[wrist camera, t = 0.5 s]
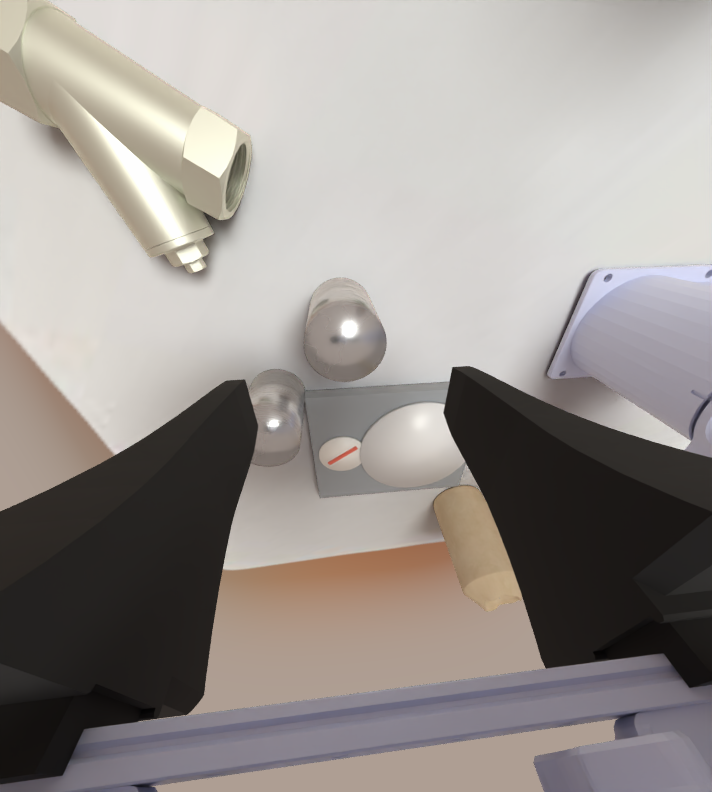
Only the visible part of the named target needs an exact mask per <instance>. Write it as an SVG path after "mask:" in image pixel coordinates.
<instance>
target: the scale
mask: <svg viewBox="0 0 712 792" xmlns="http://www.w3.org/2000/svg"><path fill="white" fill-rule="evenodd" d="M448 387H449V382H440V383H424V384H408V385H392V386H376V387H360V388H344V389H328V390H312V391H305V404H306V411H307V417H308V424H309V431H310V437H311V444H312V450H313V457H314V463H315V470H316V477H317V483H318V490H319V496H320V498H326V497H338V496H350V495H361V494H373V493H384V492H396V491H408V490H419V489H431V488H442V487H454V486H459V483H460V480H461V477H462V474H463V470H464V467H465V464H466V462H465V460H464V458H463V457H462V455H461V453H460V451H459V449H458V447H457V445H456V443H455V442H454V440H453V438H452V436H451V433H450V431H449V428H448V425H447V422H446V419H445V417H444V414H443V411H444V407H445V402H446V397H447V392H448Z"/></svg>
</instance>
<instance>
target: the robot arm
mask: <svg viewBox="0 0 712 792" xmlns="http://www.w3.org/2000/svg"><path fill="white" fill-rule="evenodd" d="M606 275H607V277H606V279H604V278H605V276H606ZM547 375H548V376H549V377H550V378H551V379H565V378H581V377H594V378H595V379H597V380H598V381H600V382H602V383H603V384H605V385H606V386H608V387H609V388H611V389H612V390H614V391H615V392H617V393H618V394H620V395H621V396H623V397H625V398H626V399H628V400H629V401H631V402H632V403H634V404H635V405H637V406H638V407H640V408H641V409H643V410H644V411H646V412H648V413H649V414H651V415H652V416H654V417H655V418H657V419H658V420H660V421H661V422H663V423H664V424H666V425H667V426H669V427H671V428H672V429H674V430H675V431H677V432H678V433H680V434H681V435H683V436H684V437H686V438H687V439H689V440H690V441H691V443H690V444H689V446H688V447H687V448H686V449H685V450H680V449H676V448H673V447H669V446H666V445H662V444H659V443H655V442H652V441H649V440H645V439H642V438H639V437H636V436H633V435H629V434H626V433H623V432H620V431H617V430H614V429H611V428H608V427H605V426H602V425H600V424H597V423H594V422H592V421H589V420H586V419H584V418H581V417H578V416H576V415H573V414H571V413H568V412H566V411H564V410H561V409H559V408H557V407H554V406H552V405H550V404H548V403H545V402H543V401H541V400H539V399H537V398H535V397H533V396H530V395H528V394H526V393H524V392H522V391H520V390H518V389H516V388H514V387H512V386H510V385H508V384H506V383H504V382H502V381H500V380H498V379H496V378H495V377H493V376H491V375H489V374H486V373H484V372H482V371H480V370H478V369H476V368H473V367H470V366H465V367H453V368H452V373H451V378H450V382H449V387H448V392H447V397H446V402H445V407H444V411H443V414H444V417H445V419H446V422H447V425H448V428H449V431H450V433H451V436H452V438H453V440H454V442H455V443H456V445H457V447H458V449H459V451H460V453H461V455H462V457H463V458H464V460H465V462H466V464H467V466H468V468H469V469H470V471H471V473H472V475H473V477H474V478H475V480H476V482H477V484H478V486H479V488H480V490H481V492H482V494H483V496H484V498H485V500H486V502H487V504H488V507H489V509H490V512H491V514H492V516H493V519H494V521H495V524H496V526H497V529H498V531H499V534H500V536H501V539H502V542H503V544H504V547H505V549H506V552H507V555H508V557H509V560H510V563H511V566H512V568H513V571H514V574H515V577H516V580H517V583H518V586H519V588H520V591H521V594H522V597H523V600H524V603H525V606H526V610H527V613H528V616H529V619H530V622H531V626H532V629H533V632H534V635H535V638H536V642H537V645H538V649H539V652H540V655H541V659H542V661H543V663H544V665H545V668H546V669H540V670H532V671H524V672H517V673H509V674H502V675H495V676H487V677H479V678H471V679H463V680H456V681H449V682H440V683H433V684H426V685H418V686H411V687H403V688H395V689H387V690H379V691H372V692H364V693H357V694H349V695H341V696H334V697H326V698H318V699H311V700H303V701H295V702H288V703H280V704H273V705H265V706H257V707H250V708H242V709H234V710H227V711H219V712H212V713H204V714H196V715H189V716H181V715H187V714H188V713H189V712H191V711H192V710H193V709H194V707H195V706H196V705H197V704H198V703H199V701H200V700H201V698H202V697H203V695H204V690H205V681H206V673H207V666H208V658H209V651H210V644H211V636H212V629H213V623H214V617H215V610H216V603H217V598H218V591H219V586H220V580H221V575H222V570H223V564H224V559H225V554H226V549H227V544H228V539H229V534H230V530H231V525H232V521H233V517H234V514H235V510H236V507H237V504H238V501H239V497H240V494H241V491H242V488H243V485H244V482H245V479H246V476H247V473H248V470H249V466H250V463H251V460H252V457H253V453H254V450H255V444H256V438H257V432H258V423H257V419H256V416H255V412H254V409H253V405H252V402H251V399H250V395H249V392H248V388H247V385H246V381H245V380H230V381H225V382H224V383H222V384H220V385H219V386H217V387H216V388H215V389H213V390H212V391H210V392H209V393H208V394H206V395H205V396H204V397H202V398H201V399H200V400H198V401H197V402H196V403H194V404H193V405H191V406H190V407H189V408H187V409H186V410H185V411H183V412H182V413H181V414H179V415H178V416H176V417H175V418H173V419H172V420H170V421H169V422H167V423H166V424H165V425H163V426H162V427H160V428H159V429H157V430H156V431H154V432H153V433H151V434H150V435H148V436H147V437H145V438H144V439H142V440H140V441H139V442H137V443H135V444H134V445H132V446H130V447H129V448H127V449H125V450H124V451H122V452H120V453H118V454H117V455H115V456H113V457H111V458H110V459H108V460H106V461H104V462H102V463H101V464H99V465H97V466H95V467H93V468H91V469H89V470H87V471H85V472H83V473H81V474H79V475H77V476H75V477H73V478H71V479H69V480H67V481H65V482H63V483H61V484H59V485H57V486H55V487H53V488H51V489H49V490H47V491H45V492H43V493H41V494H38V495H36V496H34V497H32V498H30V499H27V500H25V501H23V502H21V503H19V504H17V505H14V506H12V507H10V508H7V509H5V510H3V511H0V792H157V790H156V788H155V787H151V786H156V785H163V784H170V783H177V782H184V781H191V780H197V779H204V778H212V777H218V776H225V775H232V774H239V773H246V772H253V771H260V770H266V769H273V768H281V767H287V766H294V765H301V764H307V763H314V762H322V761H329V760H336V759H343V758H350V757H356V756H363V755H370V754H377V753H384V752H391V751H397V750H405V749H411V748H418V747H425V746H432V745H439V744H445V743H453V742H460V741H466V740H474V739H480V738H488V737H494V736H501V735H508V734H515V733H522V732H529V731H535V730H542V729H550V728H557V727H563V726H570V725H577V724H584V723H591V722H597V721H605V720H612V719H617V720H616V721H615V725H614V731H615V740H614V741H609V742H603V743H597V744H592V745H585V746H579V747H576V748H573V749H568V750H564V751H559V752H554V753H549V754H544V755H538V756H535V758H534V765H535V768H536V771H537V774H538V776H539V779H540V782H541V784H542V787H543V790H544V792H712V264H710V265H684V266H658V267H632V268H606V269H597V270H595V271H594V272H593V273H592V274H591V275H590V277H589V279H588V281H587V283H586V285H585V288H584V290H583V292H582V295H581V297H580V299H579V302H578V304H577V306H576V308H575V311H574V313H573V315H572V318H571V320H570V322H569V324H568V327H567V329H566V331H565V334H564V336H563V338H562V341H561V343H560V345H559V347H558V350H557V352H556V354H555V357H554V359H553V361H552V363H551V366H550V368H549V370H548V373H547ZM173 716H181V717H173ZM165 717H173V718H166V719H158V720H151V719H157V718H165ZM143 720H151V721H143ZM138 721H143V722H138Z"/></svg>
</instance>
